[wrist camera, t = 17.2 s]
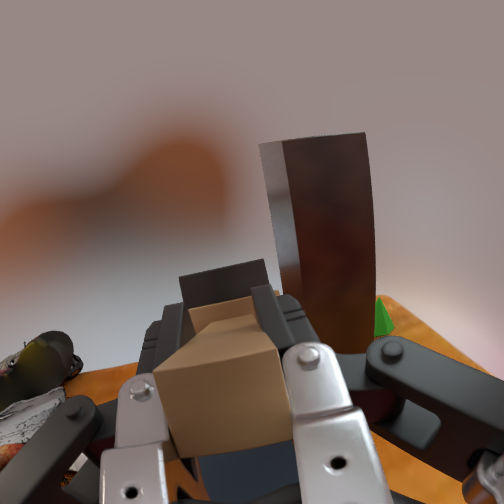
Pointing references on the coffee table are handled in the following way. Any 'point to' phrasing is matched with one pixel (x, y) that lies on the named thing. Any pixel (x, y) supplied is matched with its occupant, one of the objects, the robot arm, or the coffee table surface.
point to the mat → (249, 472)
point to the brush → (224, 369)
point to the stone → (28, 416)
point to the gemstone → (382, 320)
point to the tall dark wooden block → (325, 233)
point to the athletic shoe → (35, 368)
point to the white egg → (80, 461)
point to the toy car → (75, 367)
